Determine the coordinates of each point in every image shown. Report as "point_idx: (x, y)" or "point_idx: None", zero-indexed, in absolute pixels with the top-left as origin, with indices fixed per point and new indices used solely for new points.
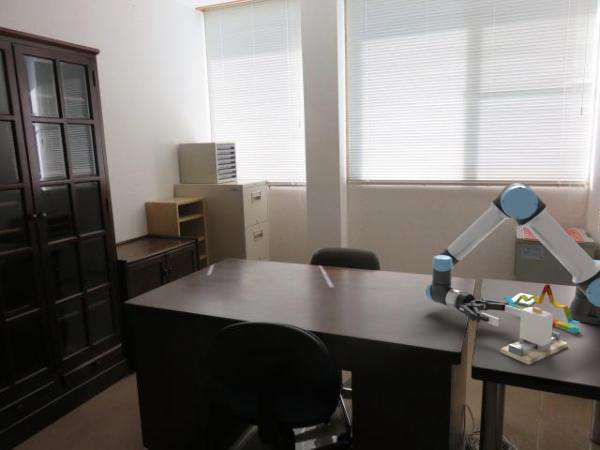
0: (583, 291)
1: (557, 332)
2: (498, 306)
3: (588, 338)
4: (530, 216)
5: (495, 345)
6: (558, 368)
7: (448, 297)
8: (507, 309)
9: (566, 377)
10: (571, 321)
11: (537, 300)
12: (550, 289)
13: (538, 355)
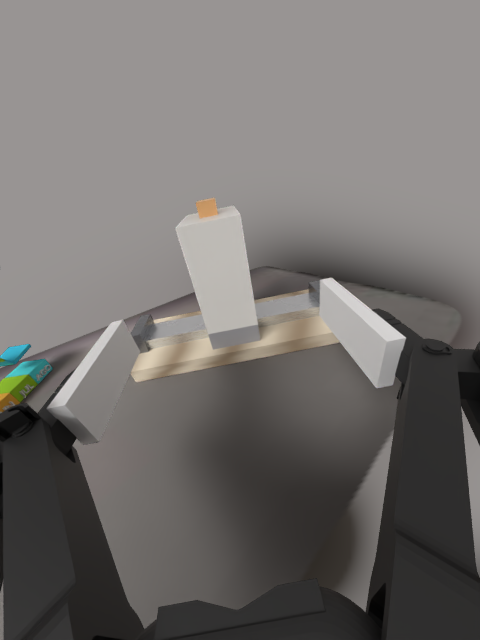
0: None
1: (139, 319)
2: (67, 475)
3: (73, 344)
4: None
5: (332, 379)
6: (265, 288)
7: None
8: (93, 406)
9: (279, 275)
10: (8, 359)
11: None
12: None
13: (272, 297)
